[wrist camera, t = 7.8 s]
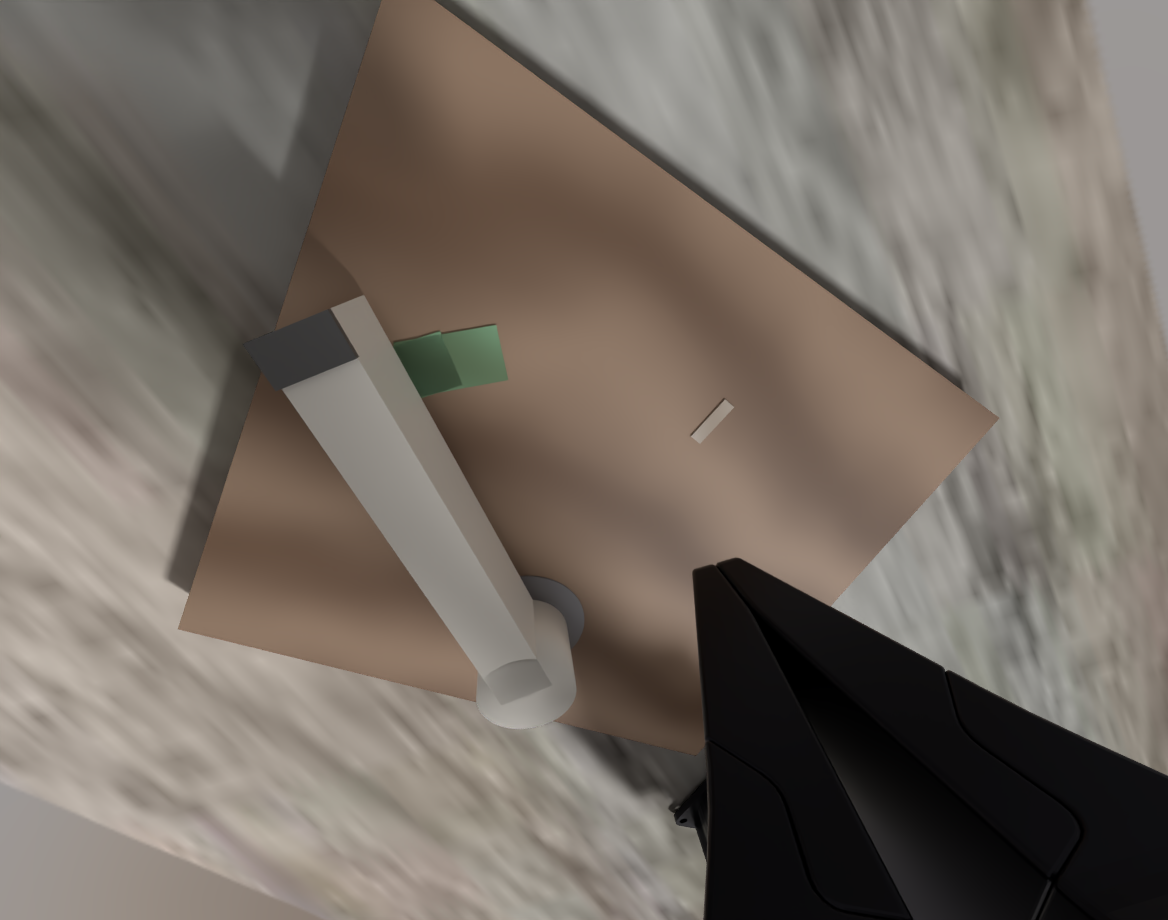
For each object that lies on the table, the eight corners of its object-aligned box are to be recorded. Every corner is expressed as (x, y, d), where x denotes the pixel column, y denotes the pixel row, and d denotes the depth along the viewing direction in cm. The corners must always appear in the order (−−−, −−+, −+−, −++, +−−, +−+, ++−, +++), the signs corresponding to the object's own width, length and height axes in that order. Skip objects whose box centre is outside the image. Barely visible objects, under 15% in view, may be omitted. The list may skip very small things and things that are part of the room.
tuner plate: (686, 730, 27) (696, 757, 26) (200, 601, 19) (176, 630, 18) (967, 406, 21) (1001, 418, 19) (404, -3, 12) (390, -33, 11)
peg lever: (579, 645, 21) (590, 712, 18) (502, 675, 21) (501, 746, 18) (389, 284, 14) (358, 297, 11) (274, 331, 14) (212, 356, 11)
